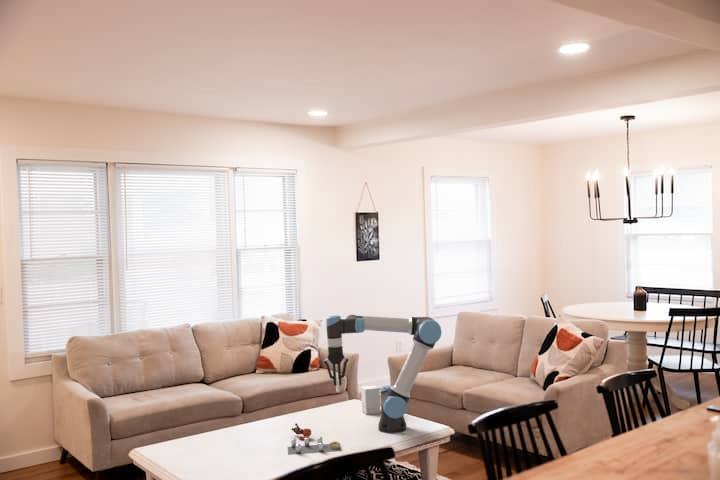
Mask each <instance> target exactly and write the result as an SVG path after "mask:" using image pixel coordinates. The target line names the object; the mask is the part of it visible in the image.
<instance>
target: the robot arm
mask: <svg viewBox="0 0 720 480" xmlns="http://www.w3.org/2000/svg"><path fill="white" fill-rule="evenodd" d="M325 322H326V334H327V335H326V336H327V338H326V339H327V346H328V347H327V353H328V354H327V357H326V359H324V360H323V363H324V365H325V366H326V370H327V374H328V375H329V378H330V379H332V380H333V386H334V387H335V390H336V393H340V392H341V389H340V387H341V386H342V379H343V378H345V376H346V369H347V364H348V361H349V359H348V357H345V354H344V351H343V350H344V349H343V335H345V334H359V333H364V332H365V331H372V332H388V333H389V332H390V333H404V334H405V333H406V334H409V336H413V337H412V342H413V344H412V346H411V348H410V350H409V353H408V355H407V357H406V359H405V361H404V363H403V366H402V367H401V369H400V372H399V374H398V376H397V378H396V381H395V383H394V385H384V386H381V387H380V414H381V415H380V418H379V420H378V424H377V425H378V428H377V429H378V431H380V432H381V433H387V434H391V433H392V434H395V433H396V434H397V433H401V432H405V431H406V430H407V427H408V425H407V421H406V419H405V417H404V415H405V414H406V412H407V409H408V404H409V401H410V400H411V393H410V392H411V389H412V387H413V385H414V383H415V382H416V379H417V377H418V374H419V372H420V370H421V369H422V366H423V363H424V362H425V360H426V358H427V355H428V353H429V351H431V350H434V347H435V345H436V343H437V342H439V340H440V339H441V337H442V328H441V325H440V323H439V322H438V321H437V320H435V319H433V318H432V317H430V316H422V317H421V316H410V317H409V318H403V317H401V318H400V317H387V316H385V317H384V316H370V315H368V316H367V315H366V316H365V315H356V314H349V315H347V316H346V317H345V318H343V319H342V317H341V315H328V316H327V317H326V321H325ZM329 362H330V364H331V365H332V366H331V367H332V371H331V368H330V365H329ZM342 362H343V363H342ZM341 363H342V364H343V366H342V369H341ZM336 365H337V368H336ZM336 369H337V370H336ZM337 377H338V378H337Z"/></svg>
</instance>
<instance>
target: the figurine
mask: <svg viewBox="0 0 720 480" xmlns="http://www.w3.org/2000/svg"><path fill="white" fill-rule="evenodd" d="M294 426H295V427H292V428H291V430H292V431H293V433H295V434H296V435H298V436H299V435H300V437H299V439H298V440H299V441H304V438H309V439H310V436H311V435H312V430H311V428H300V426H299V425H298V423H295V424H294Z"/></svg>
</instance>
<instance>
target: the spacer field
mask: <svg viewBox="0 0 720 480" xmlns="http://www.w3.org/2000/svg"><path fill="white" fill-rule="evenodd" d="M303 441H304V442H303V443H304V446H305V447H309V445H310V437H309V438H304V440H303ZM290 443H291V446H290V447H292V448H296V454H295V455H301V454H300V453H301V446H302V445H301V443H297V439H296V438H291V439H290ZM323 444H324V442H323V436H318V437H317V445H318V448H319V452H321V453H324V452H323V451H324V449H323Z"/></svg>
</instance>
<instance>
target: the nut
mask: <svg viewBox="0 0 720 480" xmlns="http://www.w3.org/2000/svg"><path fill="white" fill-rule="evenodd" d="M339 443H340V442H339V441H331V442H330V443H329V444H330V448H331V449H338V448H339Z"/></svg>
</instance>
